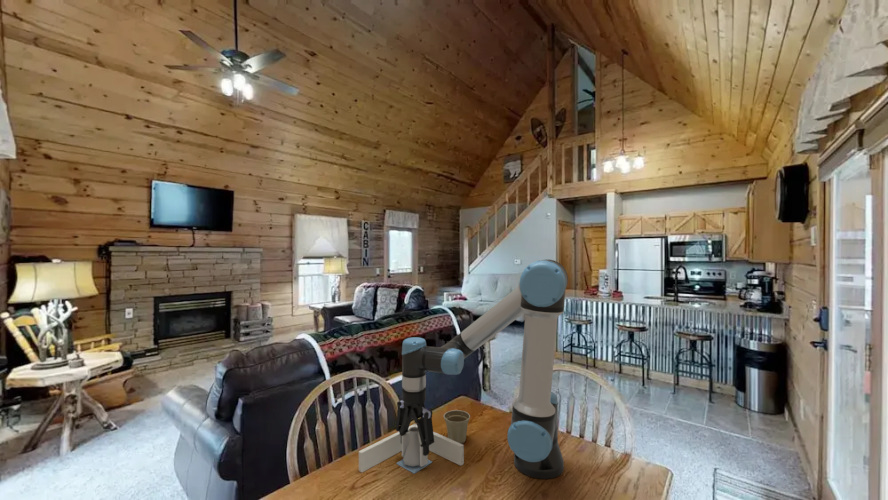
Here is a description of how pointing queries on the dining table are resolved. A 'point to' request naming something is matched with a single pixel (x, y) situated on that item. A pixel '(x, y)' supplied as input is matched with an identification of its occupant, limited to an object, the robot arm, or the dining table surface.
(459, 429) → the flower pot
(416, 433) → the flask
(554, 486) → the dining table surface
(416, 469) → the pad
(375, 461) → the corner wall
